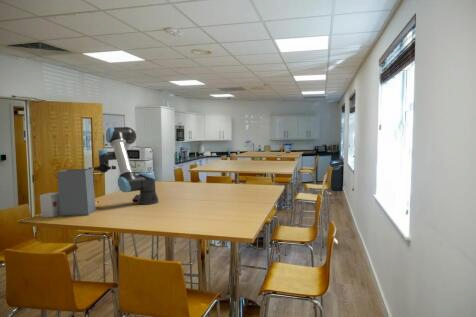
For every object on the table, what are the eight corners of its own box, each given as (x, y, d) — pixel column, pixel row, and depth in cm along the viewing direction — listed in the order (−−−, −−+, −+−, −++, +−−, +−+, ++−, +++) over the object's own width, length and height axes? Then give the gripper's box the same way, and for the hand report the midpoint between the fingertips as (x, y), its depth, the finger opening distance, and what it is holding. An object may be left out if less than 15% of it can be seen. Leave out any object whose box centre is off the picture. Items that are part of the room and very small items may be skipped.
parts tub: (95, 210, 232) (92, 168, 229) (88, 215, 219) (85, 170, 216) (69, 212, 231) (65, 169, 228) (60, 216, 218) (56, 171, 215)
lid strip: (99, 202, 260) (98, 199, 260) (87, 209, 236) (87, 206, 236) (95, 203, 260) (95, 199, 259) (83, 210, 236) (83, 206, 235)
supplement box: (52, 217, 217) (50, 195, 216) (41, 217, 219) (39, 195, 217) (62, 214, 226) (60, 192, 224) (51, 213, 227) (49, 192, 226)
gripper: (119, 171, 279) (119, 172, 259) (87, 173, 271) (84, 174, 251) (119, 162, 279) (118, 162, 259) (87, 164, 271) (83, 164, 251)
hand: (101, 168), depth 255 cm, fingers open, 13 cm apart
